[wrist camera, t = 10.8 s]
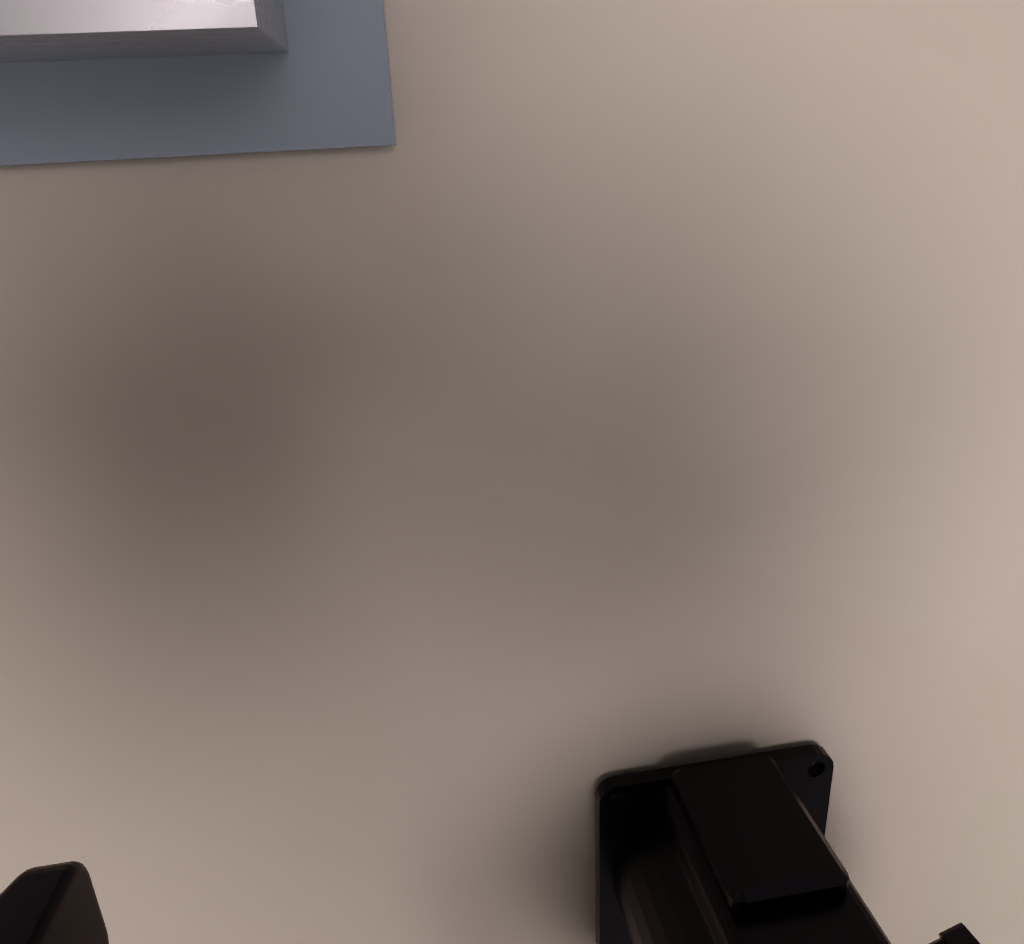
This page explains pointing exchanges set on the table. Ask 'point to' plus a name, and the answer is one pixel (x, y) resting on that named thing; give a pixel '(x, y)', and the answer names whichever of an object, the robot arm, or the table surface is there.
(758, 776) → the robot arm
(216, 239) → the table surface
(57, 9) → the collar
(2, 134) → the grey peg stand
